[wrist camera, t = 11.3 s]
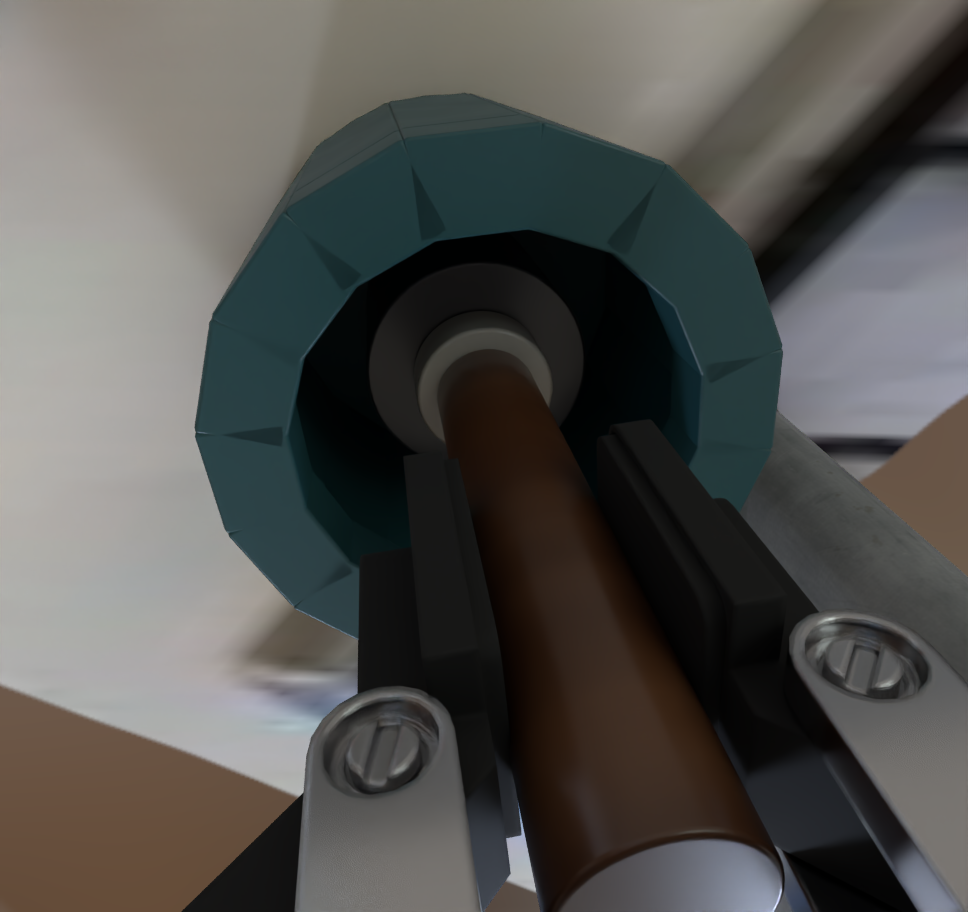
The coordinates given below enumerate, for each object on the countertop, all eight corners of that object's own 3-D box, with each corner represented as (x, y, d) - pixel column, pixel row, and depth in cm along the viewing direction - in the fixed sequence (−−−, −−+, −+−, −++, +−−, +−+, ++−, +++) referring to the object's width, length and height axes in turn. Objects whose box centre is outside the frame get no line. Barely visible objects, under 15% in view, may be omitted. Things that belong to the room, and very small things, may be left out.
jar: (227, 118, 19) (107, 171, 10) (616, 73, 20) (813, 89, 11) (310, 463, 24) (278, 698, 15) (618, 417, 25) (755, 615, 16)
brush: (351, 226, 19) (303, 772, 5) (534, 203, 19) (1025, 639, 5) (381, 396, 21) (413, 1112, 7) (544, 372, 22) (899, 1007, 7)
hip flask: (699, 730, 33) (1077, 1501, 15) (611, 736, 32) (900, 1546, 15) (795, 401, 25) (1743, 1170, 8) (682, 400, 25) (1440, 1233, 7)
